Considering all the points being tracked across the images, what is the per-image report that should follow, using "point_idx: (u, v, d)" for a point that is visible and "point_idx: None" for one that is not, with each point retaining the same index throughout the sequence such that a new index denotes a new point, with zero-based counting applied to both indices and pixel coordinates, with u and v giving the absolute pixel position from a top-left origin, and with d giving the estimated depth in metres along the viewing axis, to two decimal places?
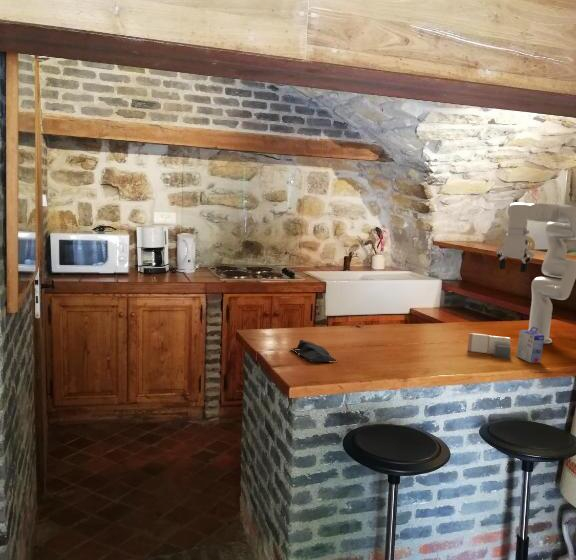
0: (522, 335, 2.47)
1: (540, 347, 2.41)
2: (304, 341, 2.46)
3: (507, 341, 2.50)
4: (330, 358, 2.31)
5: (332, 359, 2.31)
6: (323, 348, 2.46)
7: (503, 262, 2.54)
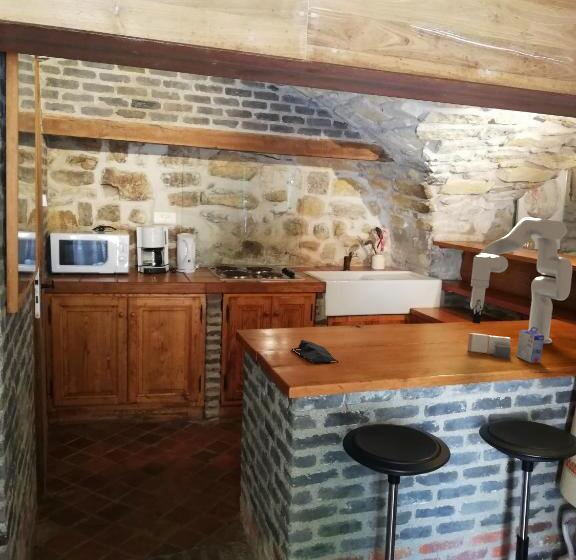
0: (522, 335, 2.47)
1: (540, 347, 2.41)
2: (305, 341, 2.46)
3: (507, 341, 2.50)
4: (330, 358, 2.31)
5: (332, 359, 2.31)
6: (324, 348, 2.46)
7: None
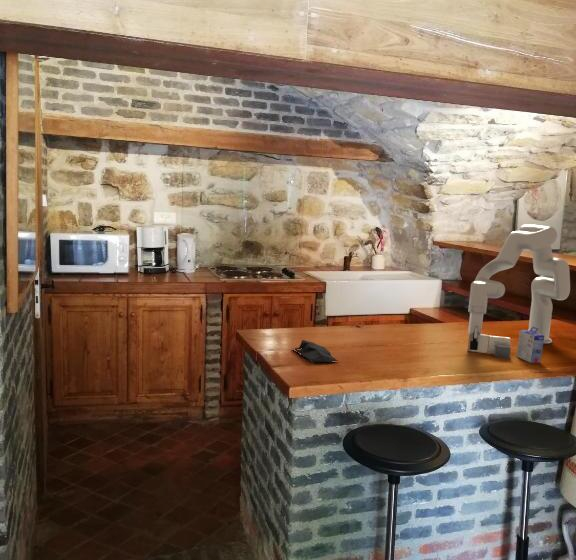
0: (522, 335, 2.47)
1: (540, 347, 2.41)
2: (306, 341, 2.46)
3: (507, 341, 2.50)
4: (331, 358, 2.31)
5: (333, 359, 2.31)
6: (325, 348, 2.45)
7: None
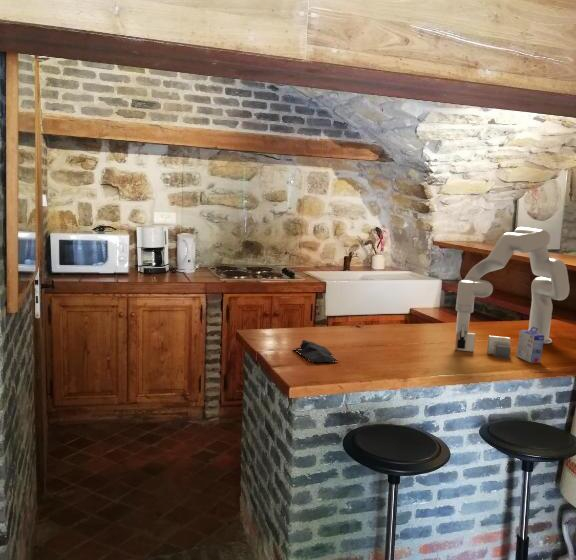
0: (522, 335, 2.47)
1: (540, 347, 2.41)
2: (306, 341, 2.45)
3: (507, 341, 2.50)
4: (331, 358, 2.31)
5: (333, 359, 2.31)
6: None
7: None
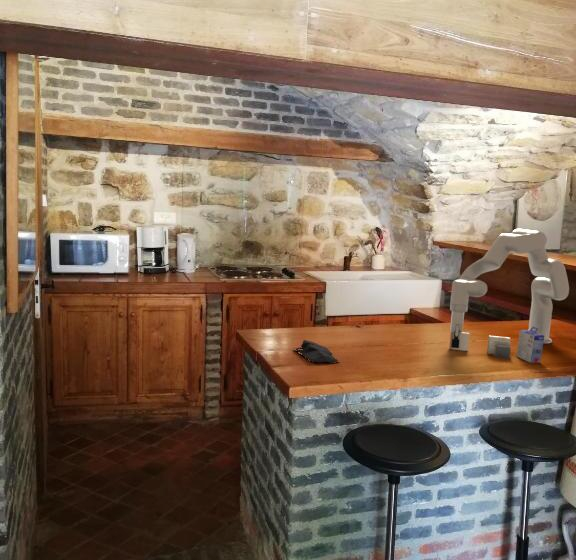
0: (522, 335, 2.47)
1: (540, 347, 2.41)
2: (307, 341, 2.45)
3: (507, 341, 2.50)
4: (332, 358, 2.31)
5: (334, 359, 2.31)
6: (326, 348, 2.45)
7: None
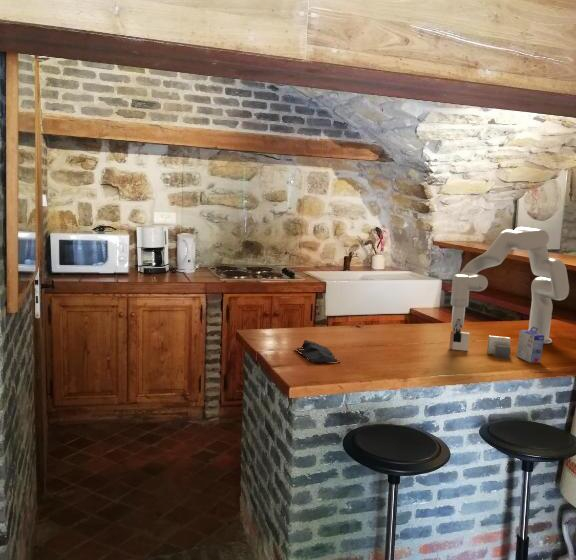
0: (522, 335, 2.47)
1: (540, 347, 2.41)
2: (308, 341, 2.45)
3: (507, 341, 2.50)
4: (332, 359, 2.31)
5: (334, 360, 2.30)
6: (327, 349, 2.45)
7: None
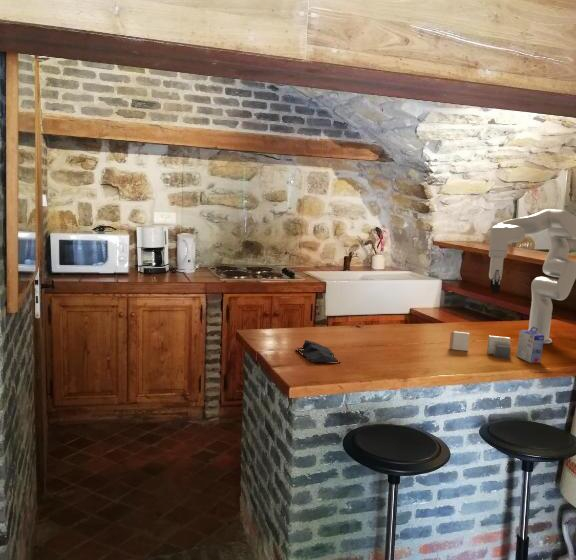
0: (522, 335, 2.47)
1: (540, 347, 2.41)
2: (309, 341, 2.45)
3: (507, 341, 2.50)
4: (332, 359, 2.30)
5: (334, 360, 2.30)
6: (328, 349, 2.45)
7: None
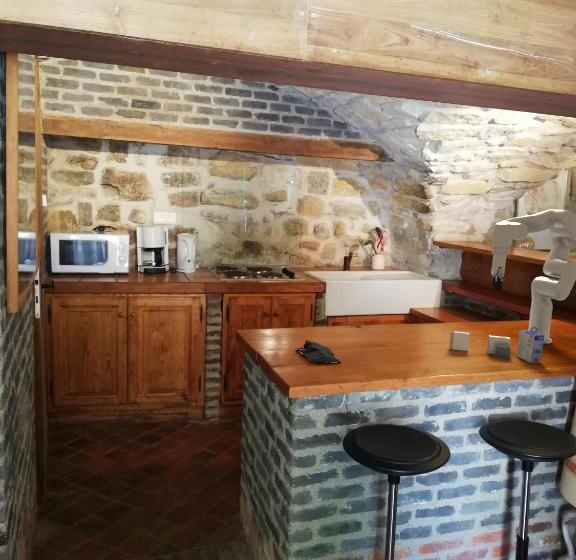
0: (522, 335, 2.47)
1: (540, 347, 2.41)
2: (309, 341, 2.45)
3: (507, 341, 2.50)
4: (333, 359, 2.30)
5: (335, 360, 2.30)
6: (328, 349, 2.45)
7: None
